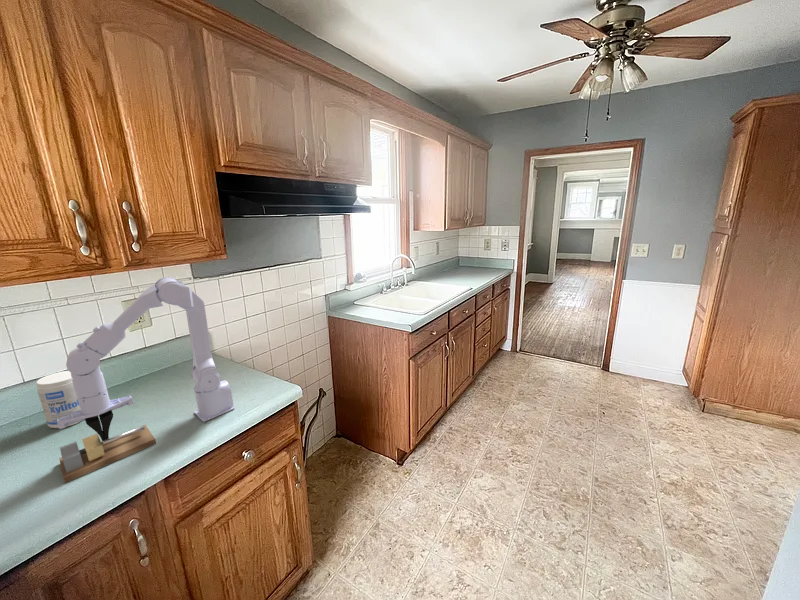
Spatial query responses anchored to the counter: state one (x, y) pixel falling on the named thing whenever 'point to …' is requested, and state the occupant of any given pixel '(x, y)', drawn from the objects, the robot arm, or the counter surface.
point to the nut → (93, 447)
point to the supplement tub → (57, 397)
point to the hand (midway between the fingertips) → (105, 438)
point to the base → (114, 449)
